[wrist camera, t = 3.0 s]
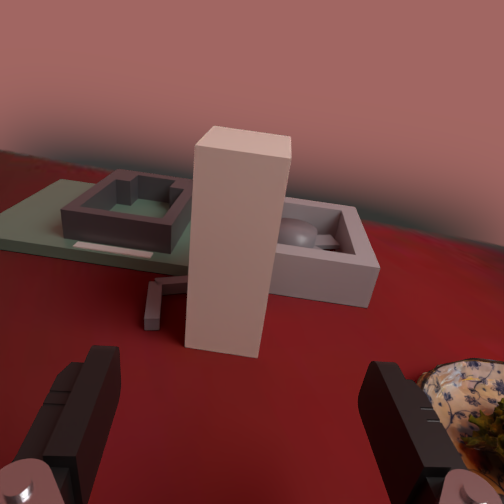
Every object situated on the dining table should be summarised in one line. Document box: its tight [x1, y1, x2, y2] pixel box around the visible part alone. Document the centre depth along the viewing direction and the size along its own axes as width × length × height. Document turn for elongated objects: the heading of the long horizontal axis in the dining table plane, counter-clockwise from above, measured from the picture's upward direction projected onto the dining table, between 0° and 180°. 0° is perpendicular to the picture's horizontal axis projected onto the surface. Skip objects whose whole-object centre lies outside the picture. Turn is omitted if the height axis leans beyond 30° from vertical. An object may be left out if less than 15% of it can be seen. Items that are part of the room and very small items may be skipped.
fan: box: [144, 197, 380, 330], centre depth 31 cm, size 16×18×4 cm
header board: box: [0, 169, 193, 276], centre depth 35 cm, size 18×14×4 cm
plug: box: [185, 126, 291, 358], centre depth 23 cm, size 4×6×12 cm
